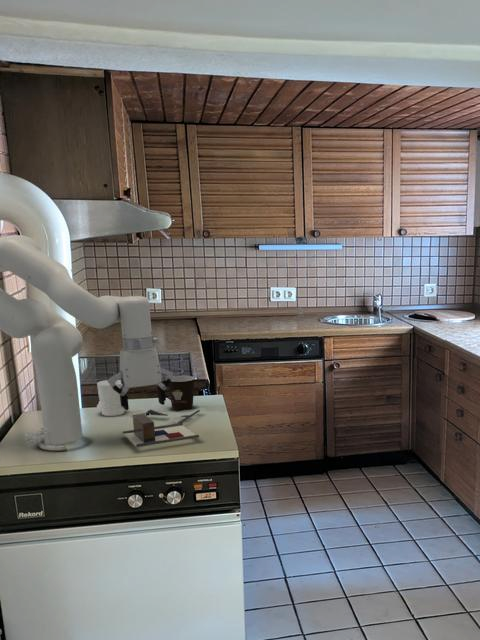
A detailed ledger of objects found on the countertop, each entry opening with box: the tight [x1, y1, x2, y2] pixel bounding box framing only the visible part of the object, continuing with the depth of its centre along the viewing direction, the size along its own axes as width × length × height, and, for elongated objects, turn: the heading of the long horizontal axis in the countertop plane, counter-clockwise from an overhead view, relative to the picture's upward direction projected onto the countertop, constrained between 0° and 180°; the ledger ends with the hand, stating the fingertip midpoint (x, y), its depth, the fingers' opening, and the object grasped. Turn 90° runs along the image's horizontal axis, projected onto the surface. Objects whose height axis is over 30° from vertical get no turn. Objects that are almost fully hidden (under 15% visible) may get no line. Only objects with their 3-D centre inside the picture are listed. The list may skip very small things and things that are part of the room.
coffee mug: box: [156, 375, 196, 412], centre depth 226 cm, size 12×9×10 cm
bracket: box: [145, 409, 201, 423], centre depth 214 cm, size 14×15×3 cm
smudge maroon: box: [165, 432, 184, 439], centre depth 194 cm, size 4×4×1 cm
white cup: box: [96, 379, 125, 417], centre depth 219 cm, size 8×8×10 cm
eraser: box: [132, 413, 155, 443], centre depth 191 cm, size 3×10×6 cm, turn 32°
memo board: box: [122, 422, 200, 448], centre depth 194 cm, size 17×14×2 cm
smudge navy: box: [155, 430, 168, 436], centre depth 196 cm, size 4×4×1 cm
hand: (144, 406), depth 189 cm, fingers open, 9 cm apart
